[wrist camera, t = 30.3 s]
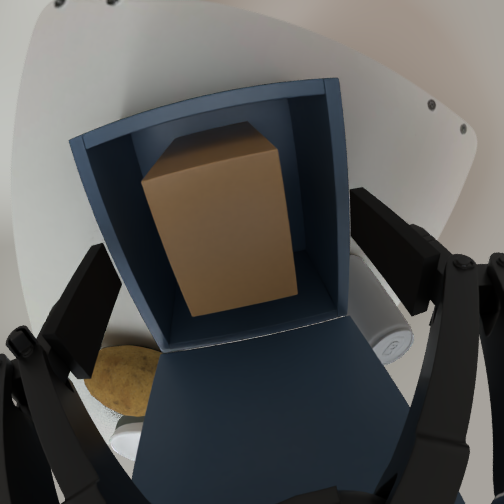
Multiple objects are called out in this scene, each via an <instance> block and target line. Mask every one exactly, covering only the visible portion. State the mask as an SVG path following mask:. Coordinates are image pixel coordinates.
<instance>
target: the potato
mask: <svg viewBox="0 0 504 504" xmlns="http://www.w3.org/2000/svg"><path fill="white" fill-rule="evenodd" d="M160 354H164V353H161V352H158V351H155V350H153V349H148V348H144V347H139V346H132V345H123V346H113V347H106V348H103V349H101V350H100V351H99V353H98V357H97V360H96V364H95V367H94V371H93V374H92V378H91V379H84V382H85V385H86V387H87V389H88V390H89V392H90V393H91V395H92V396H93V397H95V398H96V399H97V400H98V401H100V402H101V403H102V404H103V405H105V406H106V407H108V408H110V409H112V410H114V411H116V412H118V413H121V414H123V415H127V416H136V417H140V416H145V413H146V409H147V405H148V400H149V396H150V392H151V388H152V384H153V380H154V376H155V372H156V369H157V365H158V361H159V357H160Z"/></svg>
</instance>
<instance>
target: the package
mask: <svg viewBox="0 0 504 504" xmlns="http://www.w3.org/2000/svg"><path fill="white" fill-rule="evenodd" d="M141 183H142V186H143V189H144V192H145V195H146V198H147V201H148V204H149V207H150V210H151V213H152V216H153V219H154V222H155V224H156V227H157V230H158V233H159V235H160V238H161V241H162V243H163V246H164V249H165V251H166V254H167V257H168V259H169V262H170V264H171V267H172V269H173V272H174V274H175V277H176V279H177V282H178V284H179V287H180V289H181V292H182V294H183V296H184V299H185V301H186V303H187V306H188V308H189V311H190V313H191V315H192V317H195V316H200V315H205V314H210V313H215V312H220V311H225V310H230V309H235V308H239V307H244V306H249V305H253V304H258V303H263V302H267V301H271V300H276V299H280V298H285V297H289V296H293V295H297V294H298V290H297V281H296V273H295V265H294V257H293V249H292V241H291V234H290V226H289V219H288V212H287V205H286V198H285V191H284V185H283V178H282V172H281V165H280V159H279V153H278V149H277V148H276V147H275V146H274V145H273V144H272V143H270V142H269V141H268V140H267V139H266V138H265V137H264V136H263V135H262V134H261V133H260V132H259V131H258V130H256V129H255V128H254V127H253V126H252V125H251V124H250V123H249V122H248V121H246V122H241V123H236V124H231V125H227V126H222V127H218V128H213V129H209V130H205V131H201V132H197V133H193V134H189V135H185V136H181V137H178V138H175V139H174V140H173V142H172V143H171V144H170V145H169V146H168V148H167V149H166V150H165V151H164V153H163V154H162V155H161V156H160V158H159V159H158V160H157V162H156V163H155V164H154V165H153V167H152V168H151V169H150V171H149V172H148V173H147V175H146V176H145V177H144V179H143V180H142V181H141Z"/></svg>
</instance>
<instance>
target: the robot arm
mask: <svg viewBox="0 0 504 504" xmlns="http://www.w3.org/2000/svg"><path fill="white" fill-rule="evenodd" d="M350 221H351V237H352V238H353V239H354V241H355V242H356V243H357V244H358V246H359V247H360V248H361V249H362V251H363V252H364V253H365V254H366V256H367V257H368V258H369V259H370V261H371V262H372V263H373V265H374V266H375V267H376V268H377V270H378V271H379V272H380V274H381V275H382V276H383V278H384V279H385V280H386V282H387V283H388V284H389V286H390V287H391V288H392V290H393V291H394V292H395V294H396V295H397V296H398V298H399V299H400V301H401V302H402V303H403V305H404V306H405V308H406V309H407V310H408V312H409V313H410V315H411V316H414V315H417V314H420V313H423V312H425V311H427V308H428V305H429V301H430V300H431V301H432V302H433V304H434V305H435V307H434V311H433V314H432V317H431V321H430V324H429V325H430V326H431V327H430V333H429V338H428V342H427V347H426V352H425V356H424V361H423V365H422V369H421V373H420V376H419V380H418V384H417V387H416V391H415V395H414V398H413V401H412V404H411V407H410V410H409V413H408V416H407V419H406V422H405V425H404V428H403V430H402V433H401V436H400V438H399V441H398V444H397V446H396V449H395V451H394V454H393V456H392V458H391V461H390V463H389V465H388V467H387V468H386V470H385V472H384V473H383V475H382V477H381V479H380V481H379V483H378V485H377V487H376V489H375V491H374V493H373V494H371V493H367V492H362V491H355V490H337V486H332V487H329V488H325V489H321V490H317V491H313V492H309V493H304V494H299V495H295V496H293V497H291V498H288V499H286V500H284V501H281V502H279V503H276V504H454V503H455V501H456V498H457V495H458V492H459V489H460V486H461V483H462V480H463V477H464V473H465V470H466V467H467V463H468V459H469V454H470V449H469V446H468V445H467V444H466V434H467V429H468V424H469V420H470V414H471V408H472V403H473V395H474V389H475V381H476V371H477V361H478V346H479V335H480V339H481V344H482V349H483V354H484V360H485V366H486V372H487V378H488V385H489V393H490V402H491V413H492V428H493V485H494V495H495V499H494V500H493V501H492V503H491V504H504V253H493V254H492V255H491V256H490V259H489V263H488V264H476V263H475V262H474V261H473V260H472V259H471V258H470V257H468V256H465V255H462V254H454V255H453V254H451V253H450V252H449V251H448V250H447V249H446V248H445V247H444V246H443V245H442V244H440V243H439V242H438V241H437V240H435V238H434V237H433V236H431V235H430V234H429V233H428V232H427V231H426V230H424V229H423V228H421V227H419V226H417V225H415V224H411V225H409V224H408V223H406V222H405V221H404V220H403V219H402V218H400V217H399V216H398V215H397V214H396V213H395V212H393V211H392V210H391V209H390V208H388V207H387V206H386V205H385V204H384V203H382V202H381V201H380V200H379V199H377V198H376V197H375V196H373V195H372V194H371V193H370V192H368V191H367V190H366V189H364V188H363V187H361V188H355V189H350ZM121 286H122V283H121V281H120V279H119V276H118V274H117V272H116V270H115V268H114V266H113V264H112V262H111V260H110V257H109V255H108V253H107V251H106V248H105V246H104V244H103V243H100V244H97V245H93V246H91V247H90V249H89V251H88V252H87V254H86V255H85V257H84V258H83V260H82V262H81V263H80V265H79V266H78V268H77V270H76V271H75V273H74V275H73V276H72V278H71V280H70V282H69V283H68V285H67V287H66V288H65V290H64V292H63V294H62V296H61V297H60V299H59V300H58V301H57V303H56V304H55V305H54V306H53V307H52V309H51V311H50V313H49V316H48V317H47V319H46V322H45V323H44V325H43V327H42V329H41V331H40V333H39V335H38V337H37V339H36V338H35V337H34V336H33V334H32V333H31V332H30V330H29V329H28V327H27V326H24V325H23V326H19V327H18V328H16V329H15V330H14V331H12V332H11V334H10V335H9V336H8V338H7V340H6V346H7V347H8V348H9V350H10V351H11V352H12V353H13V354H14V356H15V357H16V359H14V360H11V361H10V360H9V359H8V358H7V357H6V355H5V354H0V504H60V503H59V500H58V496H57V493H56V489H55V485H54V481H53V476H52V472H53V474H54V476H55V478H56V480H57V482H58V484H59V487H60V489H61V491H62V492H63V494H64V497H65V501H64V502H63V503H61V504H152V503H150V502H149V501H148V500H147V499H146V498H145V496H144V495H143V494H142V493H141V491H140V490H139V489H138V488H137V486H136V485H135V484H134V482H133V481H132V480H131V479H130V477H129V476H128V475H127V473H126V472H125V471H124V469H123V468H122V466H121V465H120V463H119V462H118V460H117V459H116V458H115V456H114V455H113V453H112V452H111V450H110V448H109V447H108V445H107V444H106V442H105V441H104V439H103V437H102V436H101V434H100V433H99V431H98V429H97V427H96V426H95V424H94V422H93V421H92V419H91V417H90V415H89V414H88V412H87V410H86V408H85V406H84V404H83V402H82V400H81V399H80V397H79V395H78V393H77V391H76V389H75V387H74V385H73V382H72V381H71V380H70V379H69V378H68V376H69V373H70V371H71V372H72V373H73V374H74V376H75V377H76V378H77V379H91V378H92V374H93V371H94V367H95V364H96V360H97V357H98V353H99V350H100V347H101V344H102V340H103V337H104V334H105V331H106V328H107V325H108V322H109V319H110V316H111V313H112V310H113V308H114V305H115V302H116V299H117V296H118V294H119V291H120V288H121ZM12 398H13V399H14V400H15V401H16V402H17V406H15V405H14V403H13V401H12ZM51 469H52V472H51Z"/></svg>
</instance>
